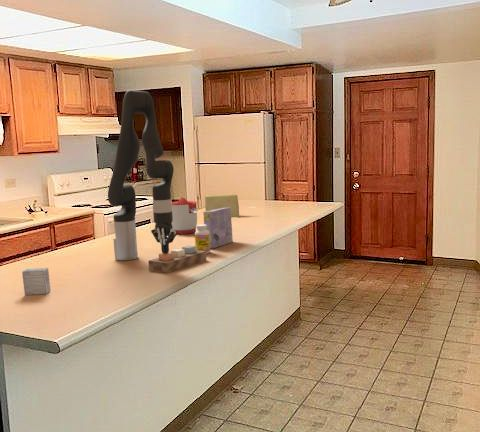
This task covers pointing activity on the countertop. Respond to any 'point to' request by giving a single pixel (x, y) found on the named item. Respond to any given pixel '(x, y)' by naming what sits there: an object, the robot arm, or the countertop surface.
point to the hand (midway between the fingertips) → (165, 253)
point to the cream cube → (178, 252)
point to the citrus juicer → (184, 216)
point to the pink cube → (166, 256)
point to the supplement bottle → (202, 238)
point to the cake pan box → (219, 226)
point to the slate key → (189, 249)
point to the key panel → (177, 262)
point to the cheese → (222, 203)
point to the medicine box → (36, 281)
